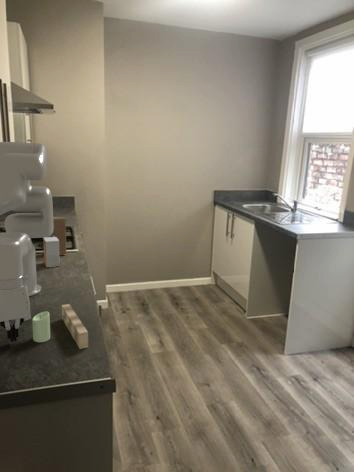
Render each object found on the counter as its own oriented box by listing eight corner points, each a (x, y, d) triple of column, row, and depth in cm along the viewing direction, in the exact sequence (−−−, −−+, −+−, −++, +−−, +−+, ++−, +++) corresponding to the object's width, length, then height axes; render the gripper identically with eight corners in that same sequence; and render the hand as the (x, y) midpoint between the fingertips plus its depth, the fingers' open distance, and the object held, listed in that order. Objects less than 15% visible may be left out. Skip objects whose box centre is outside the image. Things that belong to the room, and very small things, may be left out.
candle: (34, 343, 114) (32, 318, 112) (32, 336, 119) (31, 311, 117) (51, 340, 116) (50, 316, 115) (49, 333, 121) (48, 309, 119)
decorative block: (44, 257, 197) (43, 219, 192) (43, 254, 202) (42, 217, 197) (66, 255, 202) (65, 218, 197) (65, 252, 207) (64, 216, 202)
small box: (43, 262, 188) (42, 237, 185) (57, 261, 191) (56, 236, 188) (46, 267, 181) (45, 241, 178) (60, 266, 184) (59, 240, 181)
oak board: (62, 318, 131) (61, 305, 130) (69, 317, 132) (69, 303, 131) (79, 349, 113) (79, 333, 111) (88, 347, 114) (88, 332, 113)
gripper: (34, 274, 116) (37, 329, 120) (-21, 280, 108) (-16, 339, 113) (39, 282, 109) (41, 340, 114) (-20, 290, 102) (-15, 351, 106)
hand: (13, 339), depth 113 cm, fingers closed
